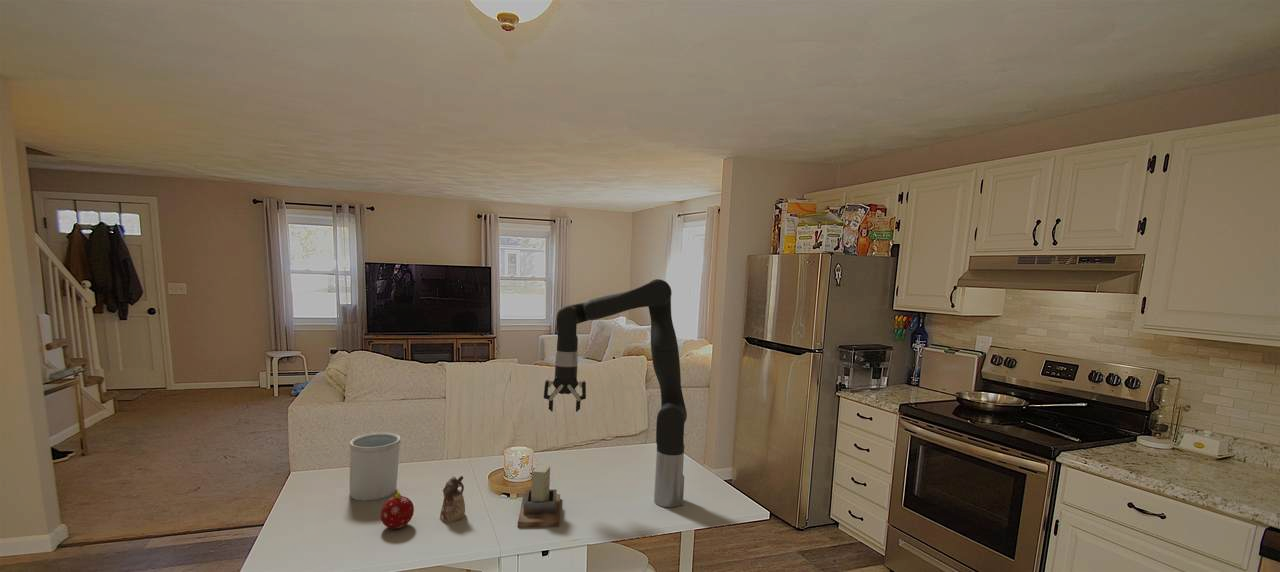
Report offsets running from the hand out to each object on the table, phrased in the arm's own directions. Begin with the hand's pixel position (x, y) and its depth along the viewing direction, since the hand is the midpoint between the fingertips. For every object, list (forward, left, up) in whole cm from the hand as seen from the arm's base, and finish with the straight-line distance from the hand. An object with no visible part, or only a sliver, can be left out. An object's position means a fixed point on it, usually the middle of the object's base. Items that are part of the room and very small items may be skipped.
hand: (564, 411), depth 172 cm
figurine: (+32, +16, -28) cm, 46 cm away
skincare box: (+6, +14, -27) cm, 31 cm away
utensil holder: (+61, -2, -28) cm, 67 cm away
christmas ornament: (+46, +22, -28) cm, 58 cm away
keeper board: (+6, +14, -28) cm, 32 cm away
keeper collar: (+6, +14, -27) cm, 31 cm away
